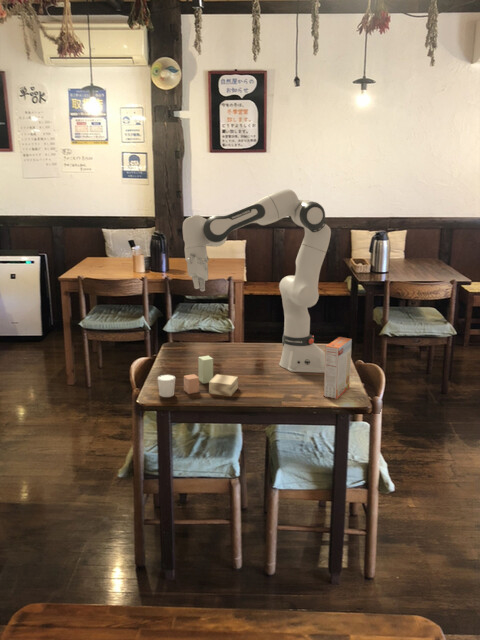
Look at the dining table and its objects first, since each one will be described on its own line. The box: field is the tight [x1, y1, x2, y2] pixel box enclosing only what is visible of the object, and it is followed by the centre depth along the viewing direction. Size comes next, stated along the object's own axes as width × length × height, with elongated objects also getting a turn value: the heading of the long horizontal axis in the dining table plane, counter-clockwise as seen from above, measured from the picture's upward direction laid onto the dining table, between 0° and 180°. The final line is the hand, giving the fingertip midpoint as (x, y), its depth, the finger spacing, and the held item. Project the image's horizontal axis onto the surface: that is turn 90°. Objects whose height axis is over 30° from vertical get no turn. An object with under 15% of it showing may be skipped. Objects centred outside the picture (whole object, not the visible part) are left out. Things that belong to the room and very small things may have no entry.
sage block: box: [197, 355, 214, 384], centre depth 252 cm, size 4×4×10 cm
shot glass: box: [157, 374, 176, 398], centre depth 238 cm, size 7×7×7 cm
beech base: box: [208, 373, 239, 397], centre depth 243 cm, size 9×9×5 cm
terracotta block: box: [183, 373, 200, 395], centre depth 242 cm, size 4×4×6 cm
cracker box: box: [323, 336, 353, 400], centre depth 240 cm, size 14×6×21 cm, turn 150°
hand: (199, 289), depth 248 cm, fingers open, 8 cm apart
